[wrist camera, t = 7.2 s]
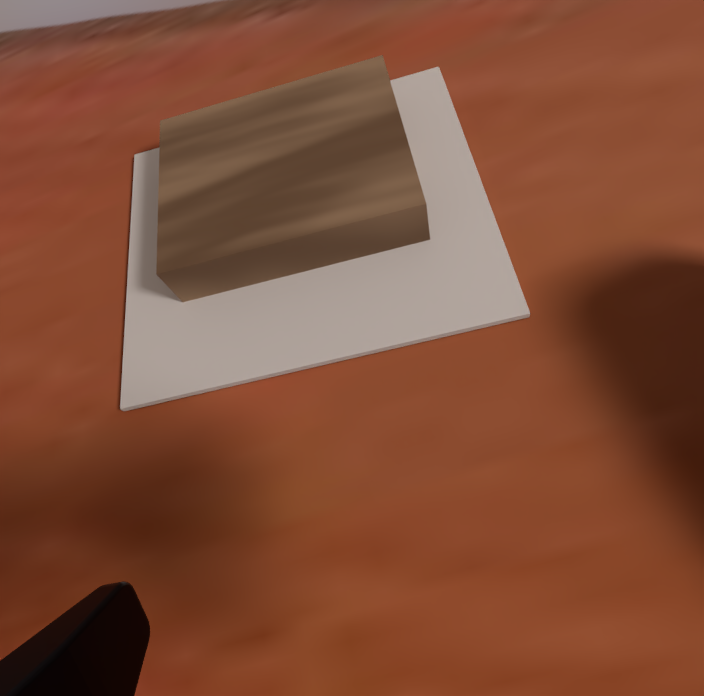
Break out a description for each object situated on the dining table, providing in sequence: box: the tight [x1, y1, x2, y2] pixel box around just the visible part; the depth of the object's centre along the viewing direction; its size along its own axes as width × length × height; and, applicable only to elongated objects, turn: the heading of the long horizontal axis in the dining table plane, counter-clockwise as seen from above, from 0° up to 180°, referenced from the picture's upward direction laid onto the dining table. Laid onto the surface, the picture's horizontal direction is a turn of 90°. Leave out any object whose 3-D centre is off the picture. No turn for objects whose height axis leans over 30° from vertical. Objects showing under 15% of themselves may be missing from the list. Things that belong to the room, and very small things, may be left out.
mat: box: [120, 67, 530, 411], centre depth 26 cm, size 16×18×1 cm
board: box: [156, 55, 430, 302], centre depth 25 cm, size 2×12×10 cm
